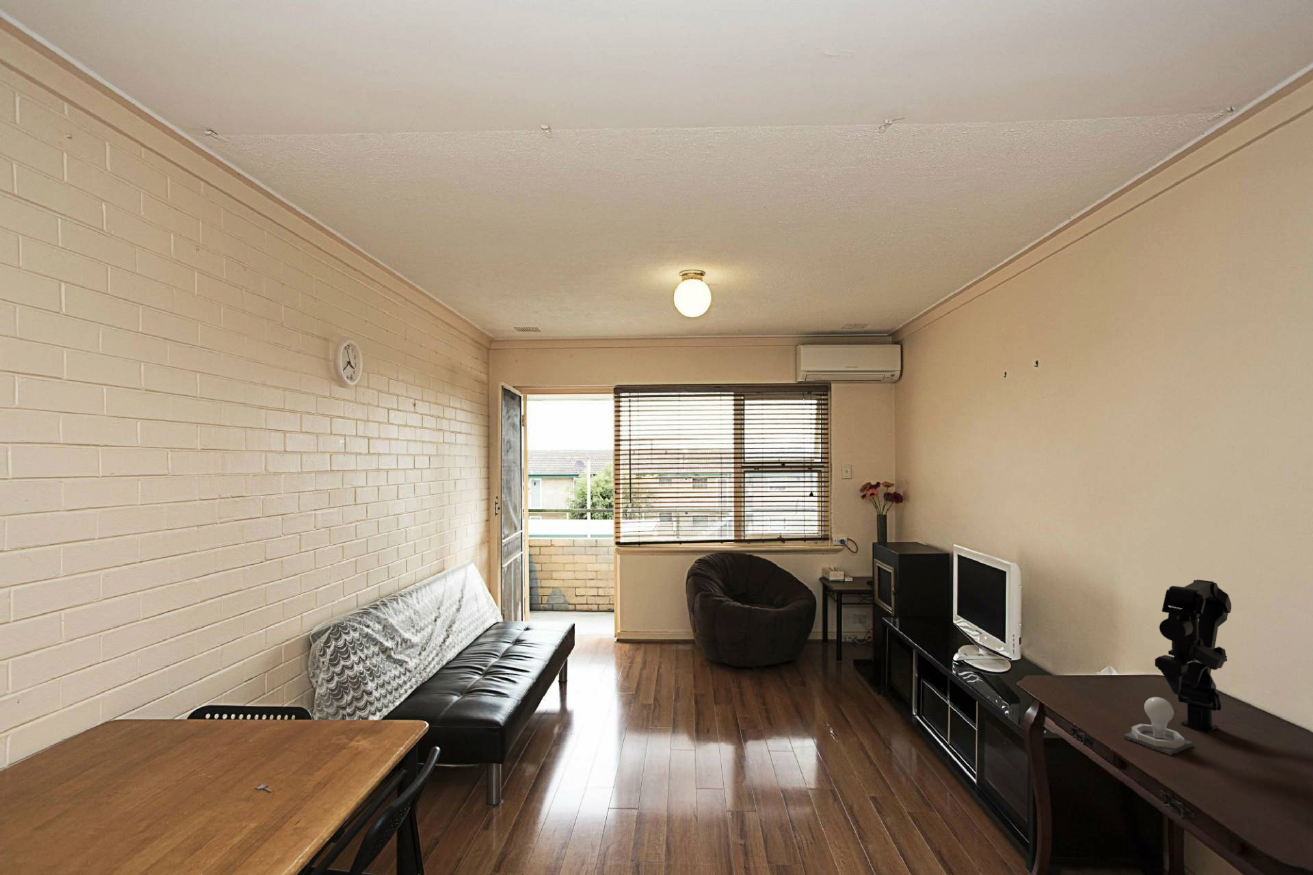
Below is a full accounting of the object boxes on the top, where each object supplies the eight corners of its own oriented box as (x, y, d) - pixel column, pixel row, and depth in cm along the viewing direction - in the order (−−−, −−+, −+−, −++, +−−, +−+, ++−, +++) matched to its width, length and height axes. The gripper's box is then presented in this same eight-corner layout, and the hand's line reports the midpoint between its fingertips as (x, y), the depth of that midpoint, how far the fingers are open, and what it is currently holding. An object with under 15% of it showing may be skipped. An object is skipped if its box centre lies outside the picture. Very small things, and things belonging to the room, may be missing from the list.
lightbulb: (1179, 745, 173) (1179, 703, 173) (1152, 743, 174) (1152, 701, 174) (1165, 734, 179) (1165, 694, 179) (1139, 732, 181) (1139, 692, 181)
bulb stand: (1146, 729, 184) (1145, 721, 184) (1192, 746, 175) (1192, 736, 175) (1123, 738, 179) (1123, 729, 179) (1170, 755, 170) (1170, 745, 170)
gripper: (1202, 647, 168) (1203, 708, 168) (1238, 636, 176) (1238, 694, 176) (1153, 635, 177) (1154, 693, 177) (1189, 626, 186) (1189, 681, 186)
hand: (1185, 691), depth 179 cm, fingers open, 9 cm apart
